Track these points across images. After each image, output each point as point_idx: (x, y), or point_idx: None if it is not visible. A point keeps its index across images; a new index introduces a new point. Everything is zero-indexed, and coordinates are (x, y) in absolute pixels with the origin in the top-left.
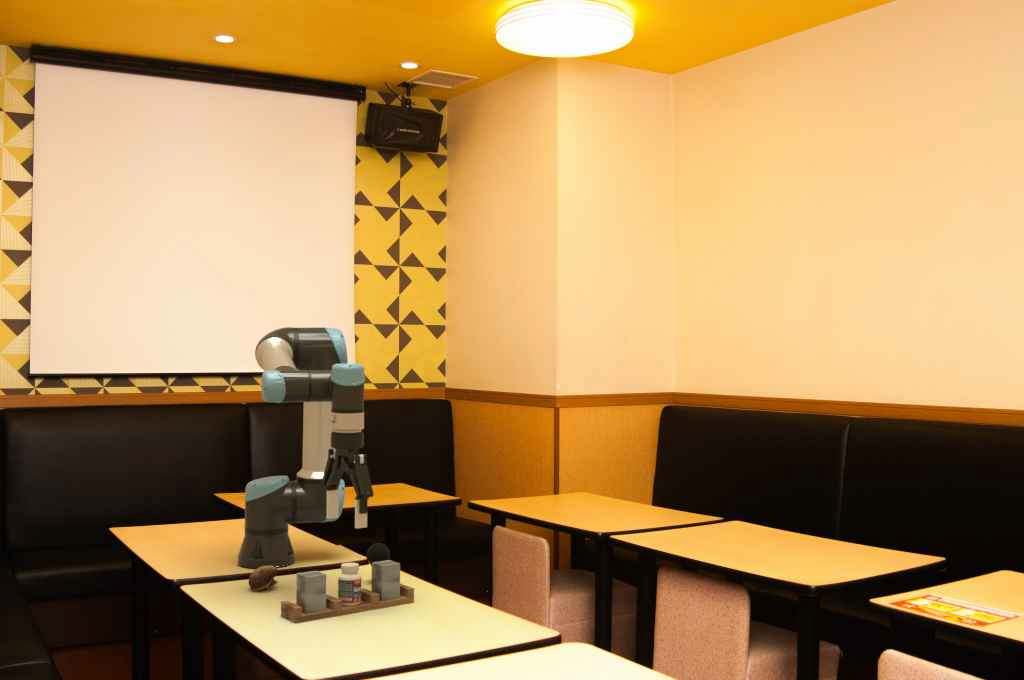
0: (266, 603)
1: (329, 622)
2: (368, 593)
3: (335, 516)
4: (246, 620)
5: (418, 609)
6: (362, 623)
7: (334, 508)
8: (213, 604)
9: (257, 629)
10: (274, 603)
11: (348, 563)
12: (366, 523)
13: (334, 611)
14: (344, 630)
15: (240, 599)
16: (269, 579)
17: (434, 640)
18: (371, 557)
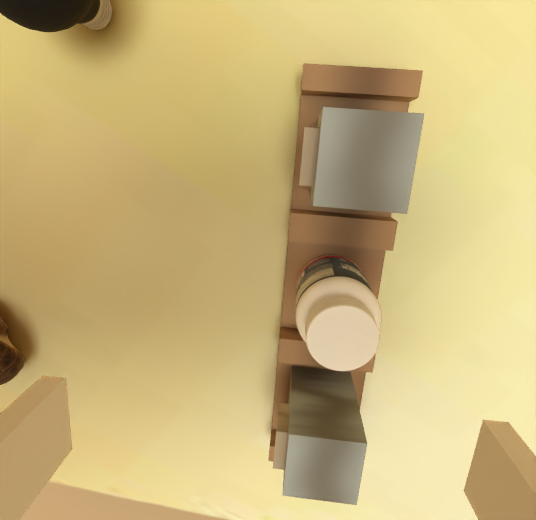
0: (141, 398)
1: (402, 386)
2: (362, 243)
3: (61, 405)
4: (252, 495)
5: (488, 125)
6: (476, 336)
7: (19, 460)
8: (81, 478)
9: (333, 513)
10: (152, 385)
11: (323, 334)
12: (524, 448)
13: None
14: (490, 400)
15: None
16: (14, 358)
17: None
18: (61, 26)
